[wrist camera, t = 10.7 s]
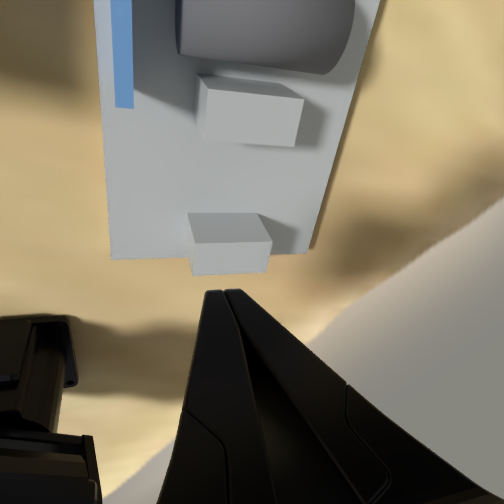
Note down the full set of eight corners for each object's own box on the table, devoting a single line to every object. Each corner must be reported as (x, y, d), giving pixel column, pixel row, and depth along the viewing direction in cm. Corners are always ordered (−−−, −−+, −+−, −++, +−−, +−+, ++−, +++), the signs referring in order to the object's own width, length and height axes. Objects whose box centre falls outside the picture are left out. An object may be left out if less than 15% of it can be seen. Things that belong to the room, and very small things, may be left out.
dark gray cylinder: (322, -24, 16) (366, -29, 13) (303, 68, 17) (338, 81, 15) (177, -58, 14) (191, -73, 11) (173, 49, 15) (184, 60, 13)
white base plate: (301, 244, 25) (333, 293, 21) (111, 249, 21) (109, 309, 17) (402, -122, 15) (498, -156, 11) (79, -233, 11) (57, -340, 8)
